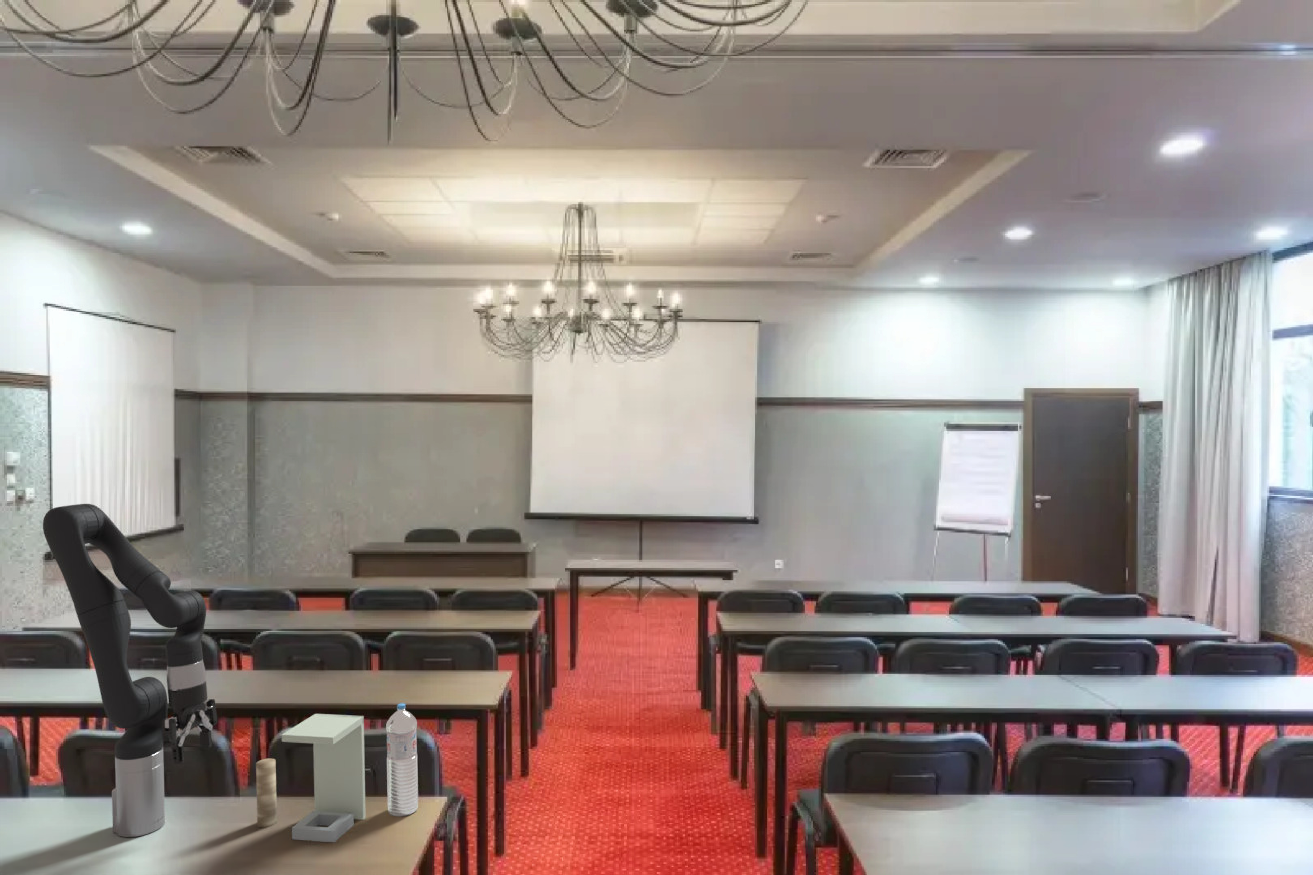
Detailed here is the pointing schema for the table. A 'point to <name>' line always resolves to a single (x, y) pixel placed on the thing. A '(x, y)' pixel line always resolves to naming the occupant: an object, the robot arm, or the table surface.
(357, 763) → the socket stand
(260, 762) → the peg
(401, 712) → the water bottle
